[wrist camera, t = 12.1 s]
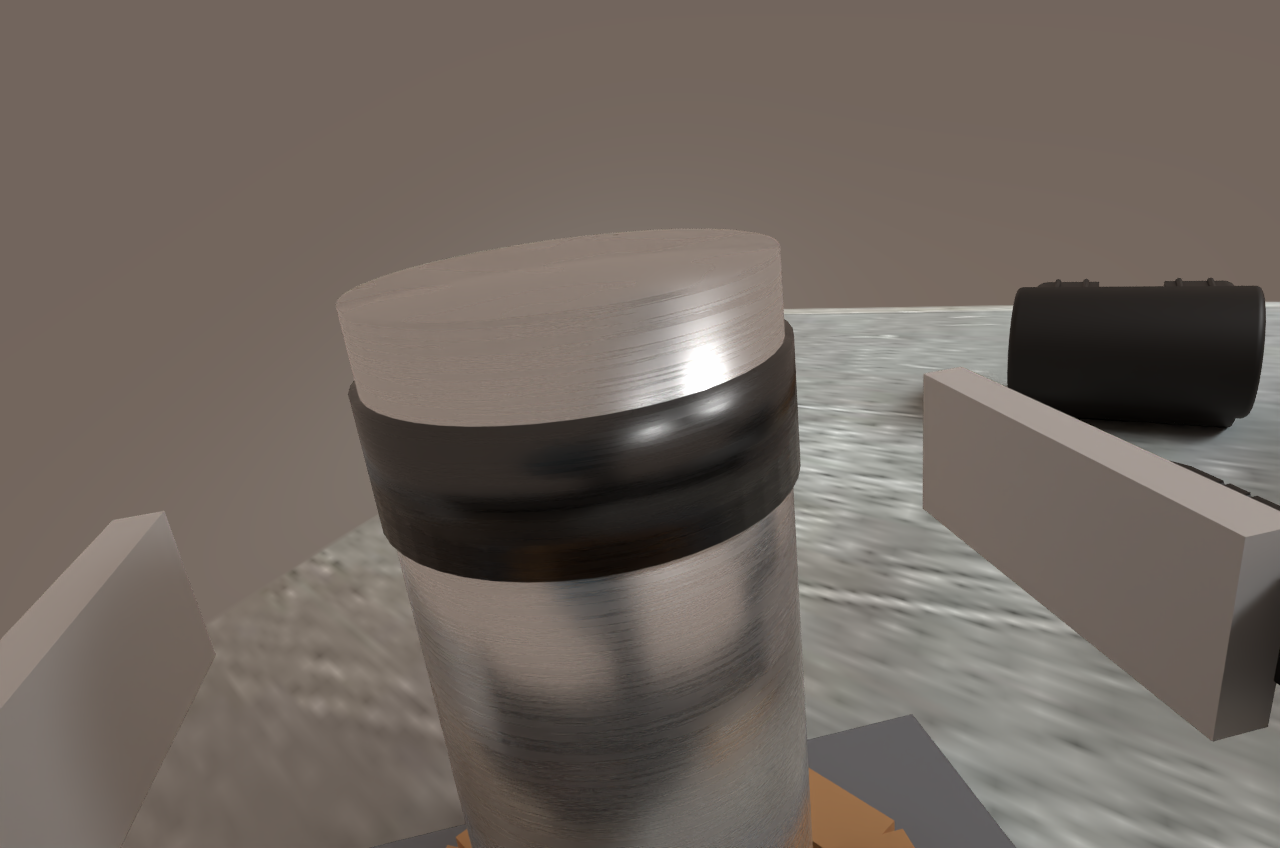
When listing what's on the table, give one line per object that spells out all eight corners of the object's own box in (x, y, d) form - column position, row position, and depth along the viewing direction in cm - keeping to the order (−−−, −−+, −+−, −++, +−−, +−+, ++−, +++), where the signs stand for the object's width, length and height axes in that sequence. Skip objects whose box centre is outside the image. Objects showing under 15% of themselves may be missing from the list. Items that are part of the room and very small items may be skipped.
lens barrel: (769, 895, 17) (714, 215, 12) (888, 1192, 12) (875, 264, 7) (523, 963, 16) (358, 266, 11) (546, 1309, 11) (277, 358, 7)
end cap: (1004, 434, 41) (1009, 301, 38) (1019, 388, 46) (1025, 270, 44) (1249, 452, 36) (1273, 302, 34) (1233, 399, 42) (1253, 267, 39)
